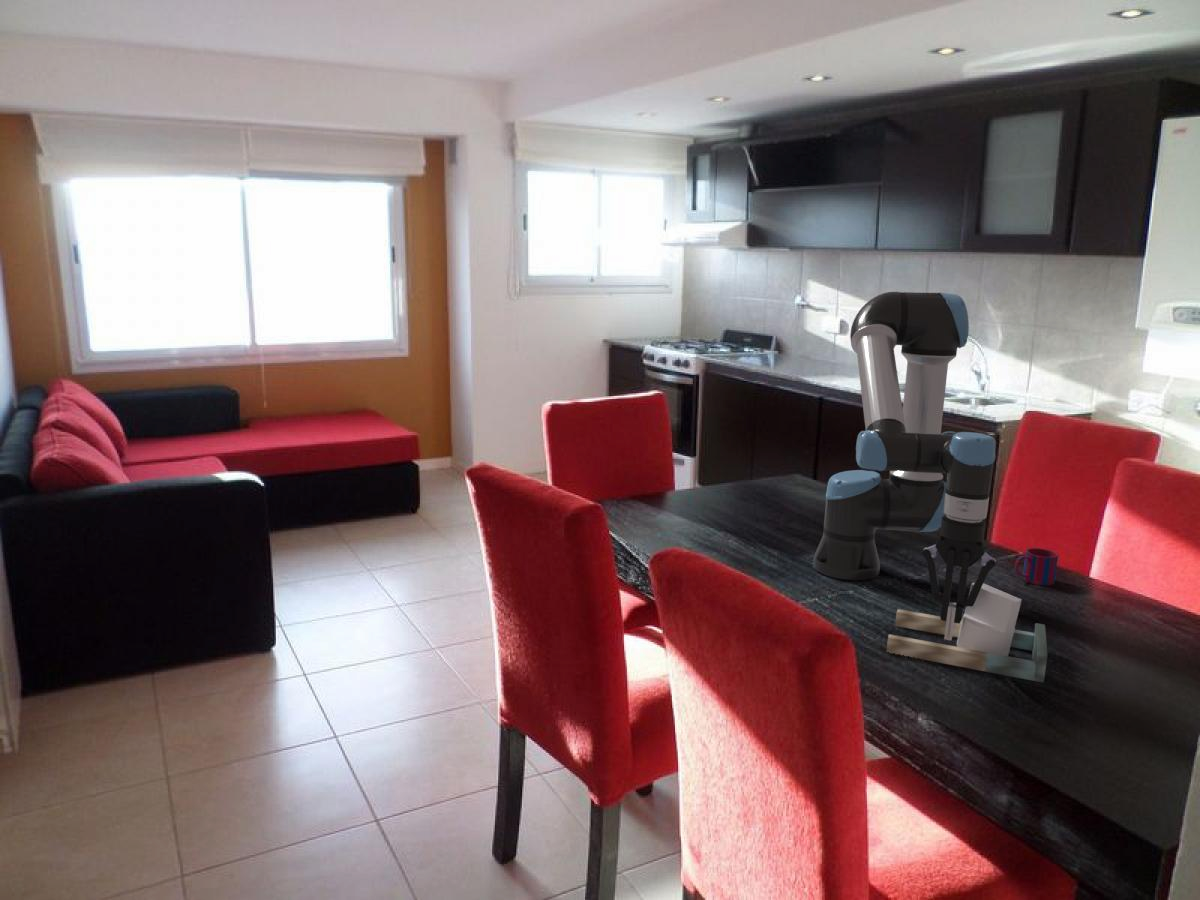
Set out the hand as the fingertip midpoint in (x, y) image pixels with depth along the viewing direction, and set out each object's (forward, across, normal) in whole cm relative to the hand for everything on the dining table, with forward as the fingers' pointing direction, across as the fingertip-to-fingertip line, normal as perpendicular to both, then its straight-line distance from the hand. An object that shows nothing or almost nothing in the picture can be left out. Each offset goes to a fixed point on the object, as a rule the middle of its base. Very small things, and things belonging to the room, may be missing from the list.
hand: (948, 637), depth 170 cm
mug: (+2, +15, +49) cm, 51 cm away
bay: (+2, +2, +1) cm, 3 cm away
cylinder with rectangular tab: (+2, +6, +1) cm, 7 cm away
